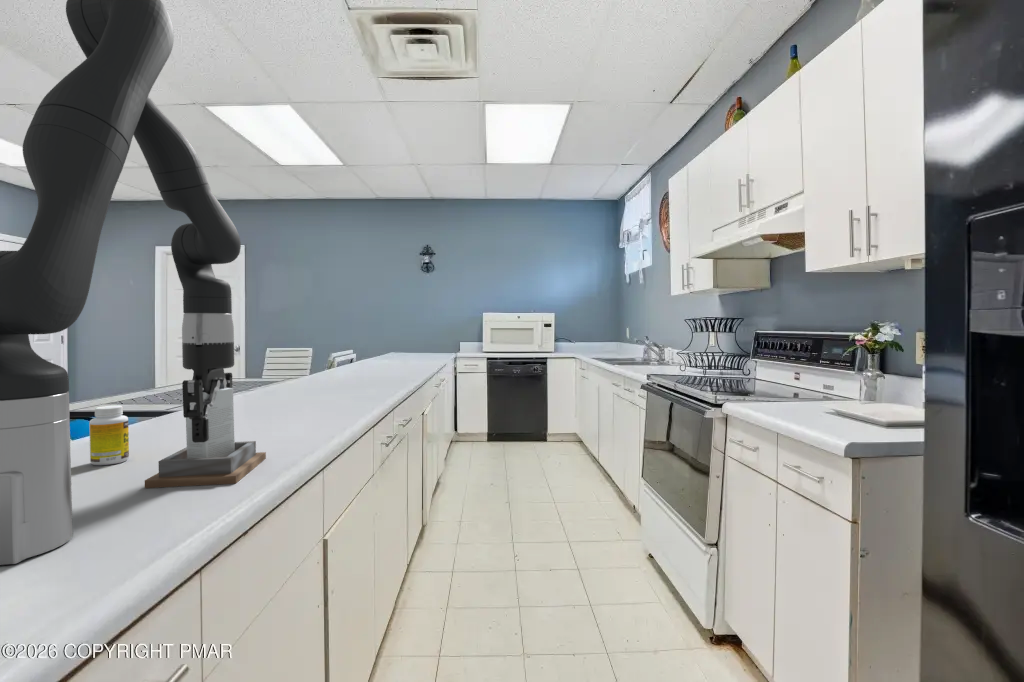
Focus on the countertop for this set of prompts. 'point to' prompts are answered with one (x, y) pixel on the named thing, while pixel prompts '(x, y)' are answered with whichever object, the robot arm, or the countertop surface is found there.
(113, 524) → the countertop surface
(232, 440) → the skincare box
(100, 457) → the supplement bottle
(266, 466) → the countertop surface
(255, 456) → the holder
